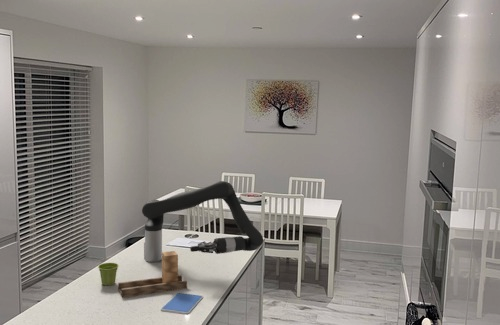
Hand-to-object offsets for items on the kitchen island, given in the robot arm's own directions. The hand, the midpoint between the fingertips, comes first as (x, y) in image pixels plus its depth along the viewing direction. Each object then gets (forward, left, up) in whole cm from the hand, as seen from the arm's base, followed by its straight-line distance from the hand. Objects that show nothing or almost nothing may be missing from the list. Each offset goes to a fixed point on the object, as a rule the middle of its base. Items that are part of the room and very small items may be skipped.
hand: (190, 249), depth 227 cm
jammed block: (-4, -9, -16) cm, 19 cm away
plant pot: (-29, -26, -17) cm, 43 cm away
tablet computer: (+14, -18, -18) cm, 29 cm away
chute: (-8, -16, -17) cm, 25 cm away
